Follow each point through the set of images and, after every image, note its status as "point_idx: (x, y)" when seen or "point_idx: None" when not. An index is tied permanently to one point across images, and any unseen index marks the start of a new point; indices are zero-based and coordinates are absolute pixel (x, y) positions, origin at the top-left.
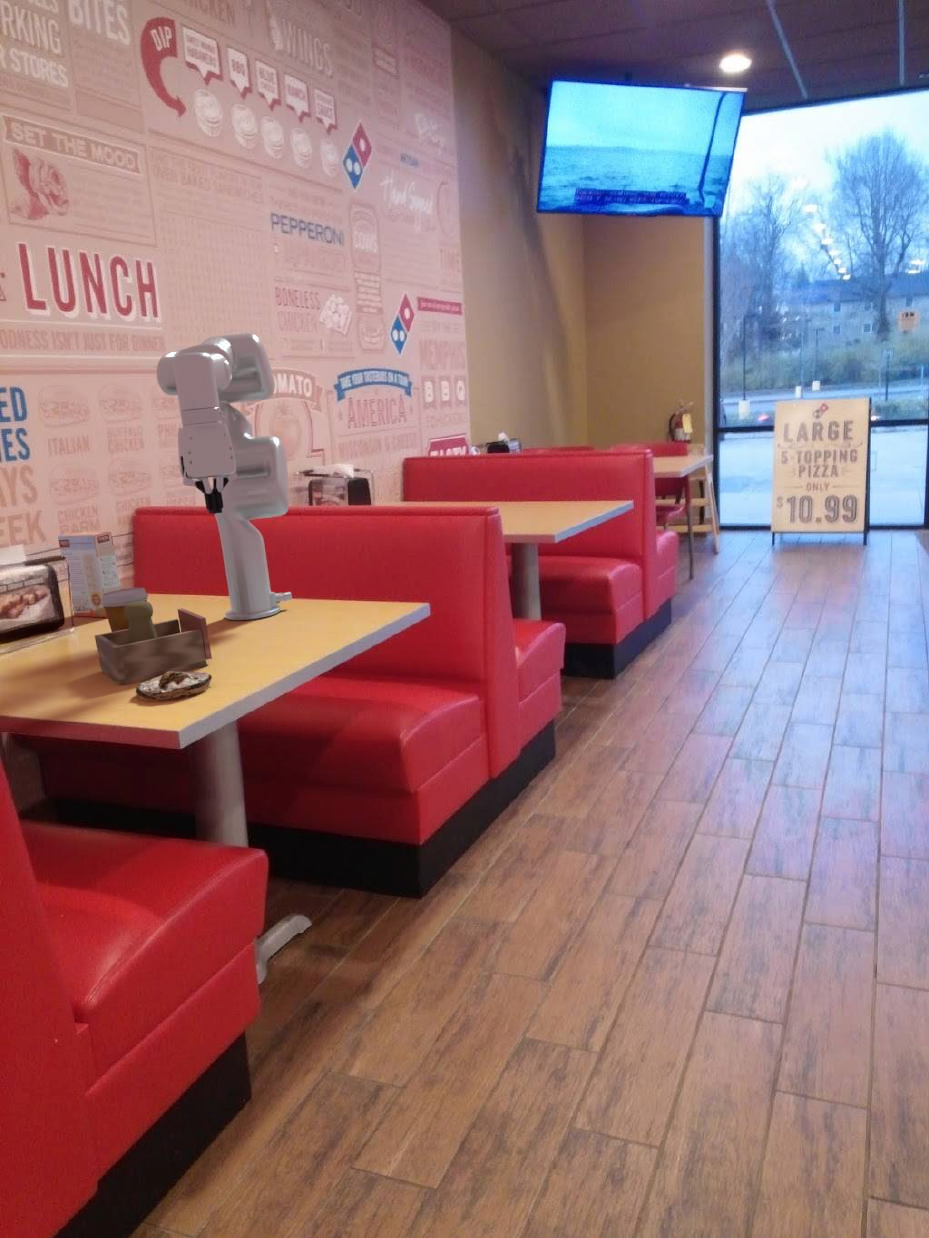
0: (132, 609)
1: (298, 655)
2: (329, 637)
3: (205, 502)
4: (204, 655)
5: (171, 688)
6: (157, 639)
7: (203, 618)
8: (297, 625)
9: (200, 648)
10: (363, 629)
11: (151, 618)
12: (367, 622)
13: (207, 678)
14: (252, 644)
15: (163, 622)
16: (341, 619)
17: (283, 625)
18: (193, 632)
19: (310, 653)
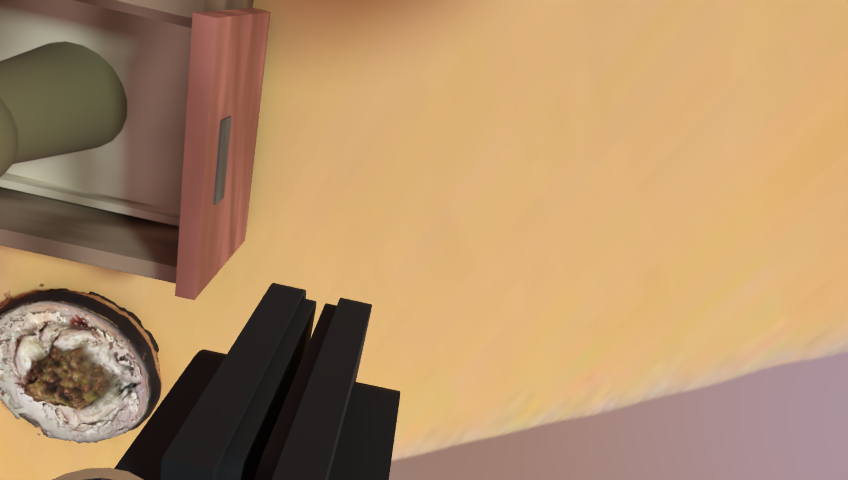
0: None
1: (426, 384)
2: (604, 319)
3: (166, 398)
4: None
5: (37, 433)
6: (35, 252)
7: (187, 296)
8: (709, 70)
9: None
10: (715, 342)
11: (22, 140)
12: (801, 288)
13: (133, 426)
14: (445, 152)
15: (139, 3)
16: (828, 164)
17: (696, 8)
18: (159, 278)
19: (454, 397)
